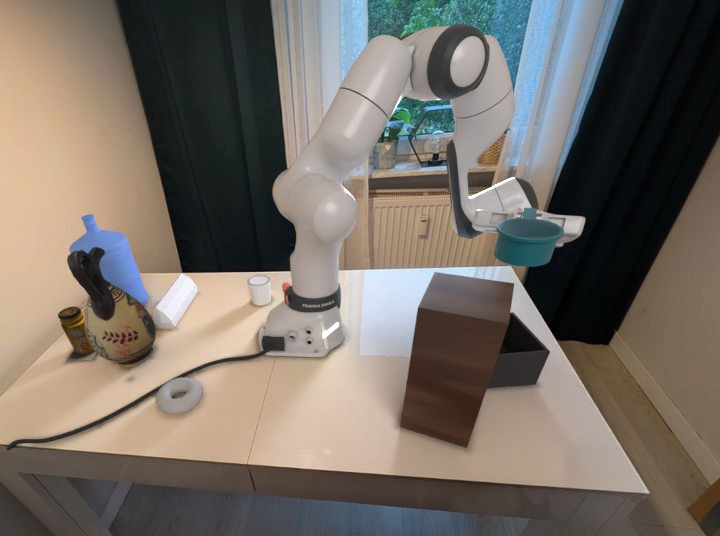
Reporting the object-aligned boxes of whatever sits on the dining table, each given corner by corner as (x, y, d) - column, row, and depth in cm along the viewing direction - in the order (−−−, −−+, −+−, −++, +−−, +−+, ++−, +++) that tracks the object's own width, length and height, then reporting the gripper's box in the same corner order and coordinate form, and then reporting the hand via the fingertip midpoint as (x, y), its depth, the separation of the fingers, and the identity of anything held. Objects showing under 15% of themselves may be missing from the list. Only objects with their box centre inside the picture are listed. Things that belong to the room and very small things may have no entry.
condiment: (105, 340, 104) (87, 303, 97) (93, 359, 98) (73, 321, 90) (79, 342, 104) (59, 305, 97) (66, 362, 98) (43, 324, 90)
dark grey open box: (466, 390, 78) (476, 357, 73) (442, 348, 90) (449, 317, 84) (535, 384, 78) (550, 351, 73) (502, 343, 89) (513, 312, 84)
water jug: (156, 291, 124) (126, 205, 107) (137, 318, 112) (100, 225, 95) (111, 293, 126) (75, 208, 109) (88, 319, 114) (43, 228, 97)
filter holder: (498, 222, 80) (504, 198, 77) (553, 226, 76) (562, 201, 73) (487, 263, 66) (494, 236, 63) (554, 271, 62) (564, 242, 59)
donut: (148, 408, 82) (181, 424, 78) (143, 397, 80) (176, 412, 75) (181, 380, 89) (213, 393, 84) (177, 369, 87) (209, 382, 82)
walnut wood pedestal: (414, 386, 80) (434, 271, 64) (475, 403, 76) (514, 283, 59) (399, 427, 72) (417, 307, 56) (466, 448, 67) (508, 323, 51)
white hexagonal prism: (175, 321, 101) (203, 279, 120) (149, 310, 100) (181, 269, 119) (169, 340, 106) (196, 296, 124) (144, 330, 105) (176, 287, 123)
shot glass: (274, 294, 116) (271, 274, 112) (271, 306, 111) (268, 285, 107) (252, 295, 117) (249, 274, 113) (248, 306, 112) (245, 286, 108)
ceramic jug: (112, 341, 103) (62, 236, 85) (168, 335, 104) (130, 228, 85) (91, 384, 90) (26, 269, 72) (155, 376, 90) (107, 260, 72)
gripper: (475, 211, 90) (475, 196, 77) (578, 218, 81) (596, 203, 69) (469, 238, 91) (467, 228, 79) (569, 248, 83) (585, 238, 70)
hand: (528, 216), depth 74 cm, fingers closed on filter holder, 2 cm apart
